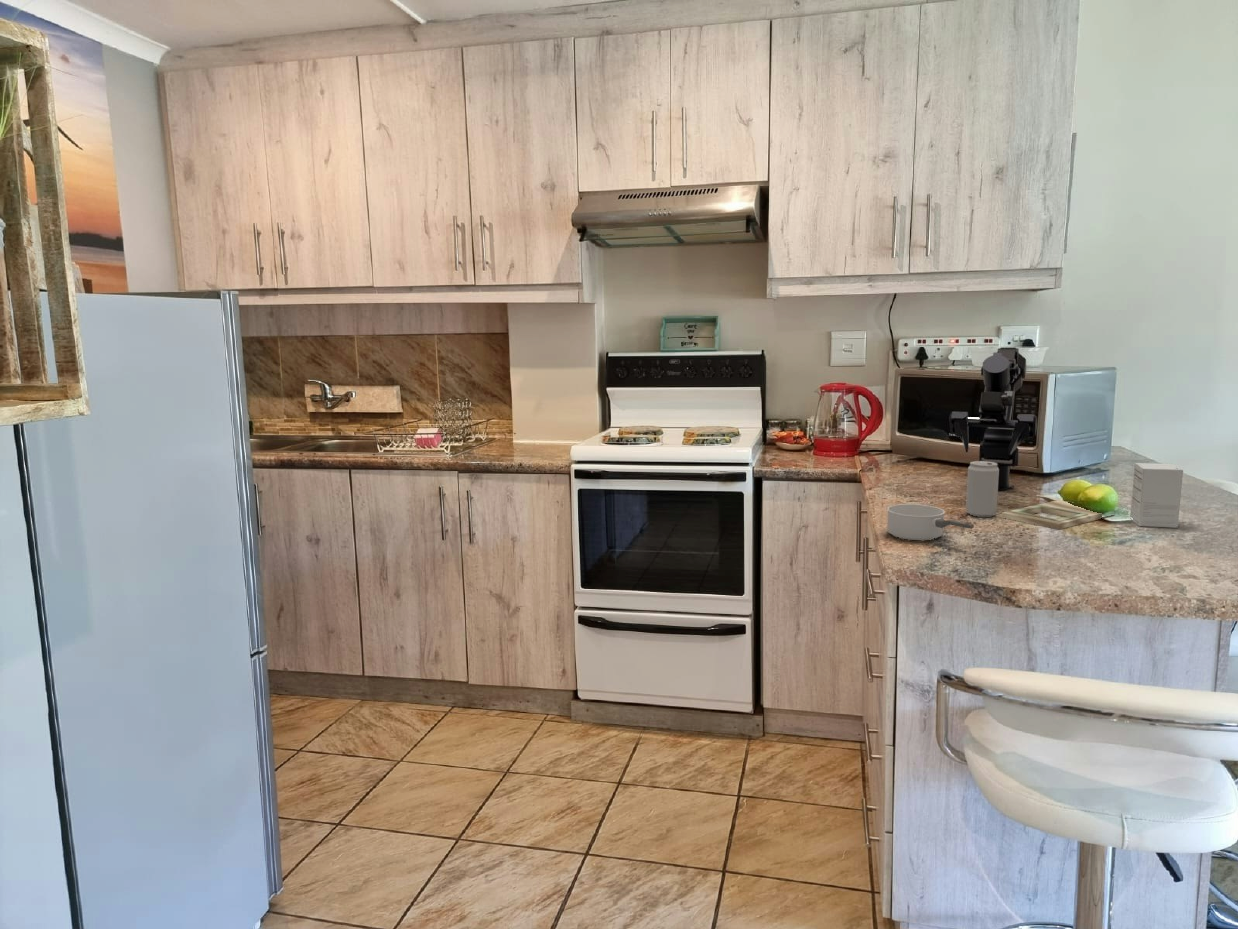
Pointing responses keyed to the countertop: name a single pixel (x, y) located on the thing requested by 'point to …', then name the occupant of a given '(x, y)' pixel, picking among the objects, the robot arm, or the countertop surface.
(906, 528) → the saucepan
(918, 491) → the countertop surface
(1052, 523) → the board
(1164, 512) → the supplement box
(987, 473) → the beverage can
